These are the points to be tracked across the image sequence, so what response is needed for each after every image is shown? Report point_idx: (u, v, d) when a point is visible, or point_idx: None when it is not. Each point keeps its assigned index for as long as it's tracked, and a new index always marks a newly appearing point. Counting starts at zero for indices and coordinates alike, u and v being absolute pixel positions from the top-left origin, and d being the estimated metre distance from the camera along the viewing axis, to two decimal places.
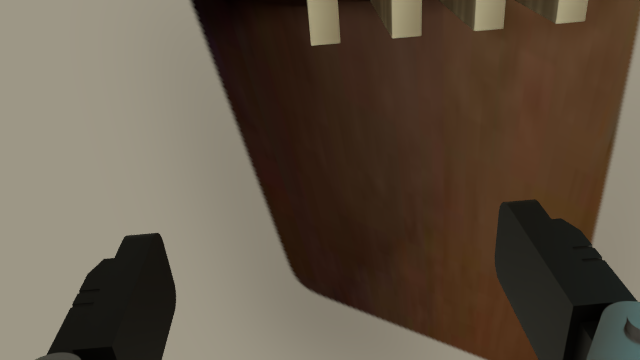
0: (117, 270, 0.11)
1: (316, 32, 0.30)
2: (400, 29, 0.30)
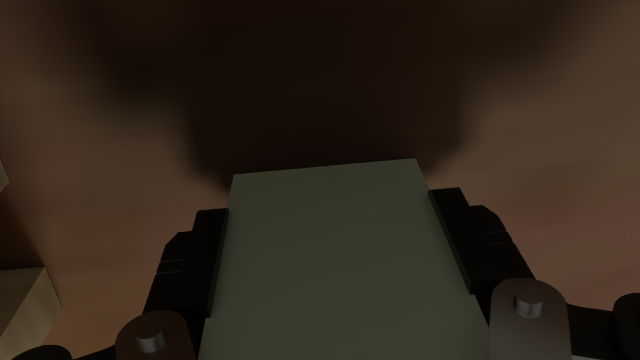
0: (197, 240, 0.12)
1: None
2: None
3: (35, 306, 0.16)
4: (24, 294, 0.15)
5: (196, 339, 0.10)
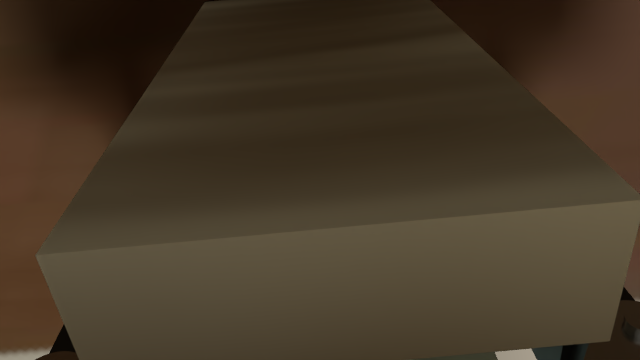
0: None
1: None
2: None
3: None
4: None
5: None
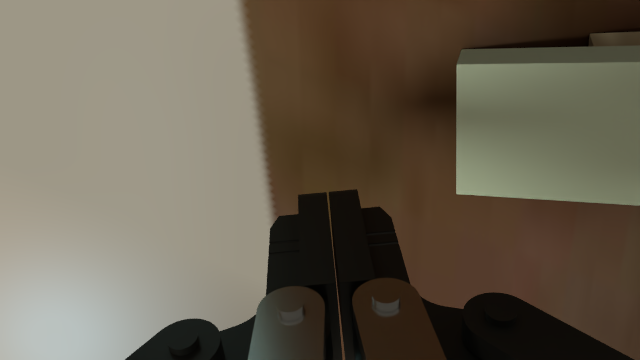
0: (307, 222, 0.12)
1: None
2: None
3: None
4: None
5: (328, 315, 0.10)
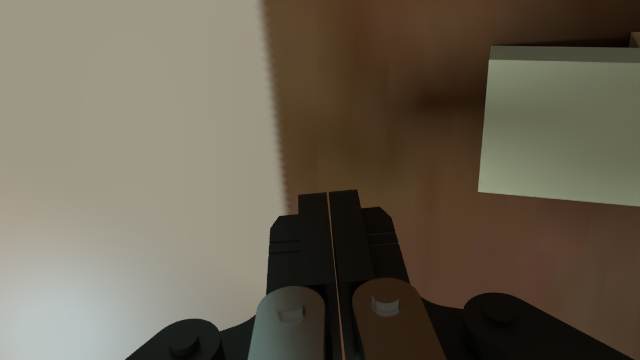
0: (307, 222, 0.12)
1: None
2: None
3: None
4: None
5: (328, 315, 0.10)
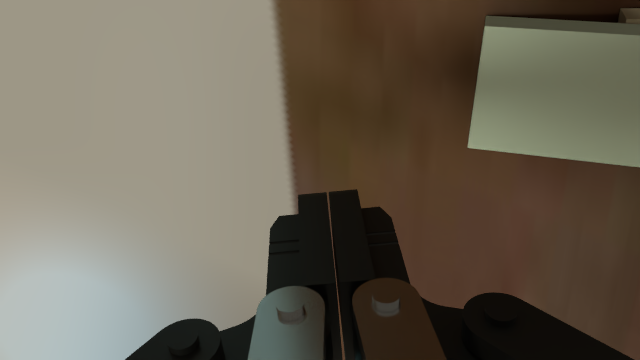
0: (307, 222, 0.12)
1: None
2: None
3: None
4: None
5: (328, 315, 0.10)
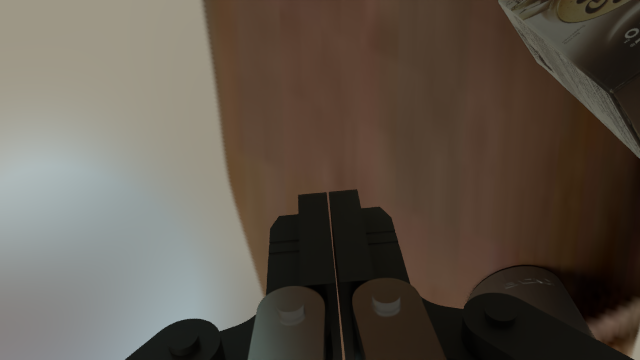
0: (307, 222, 0.12)
1: None
2: None
3: None
4: None
5: (328, 315, 0.10)
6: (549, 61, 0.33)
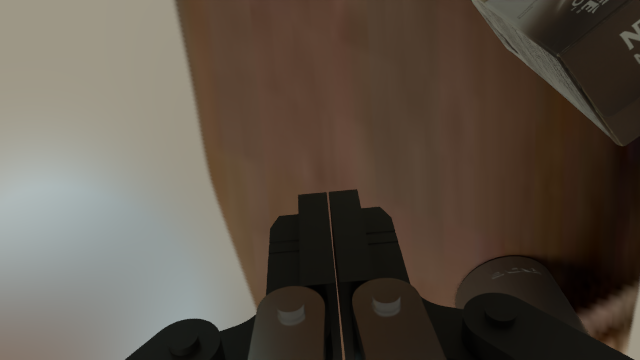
0: (307, 222, 0.12)
1: None
2: None
3: None
4: None
5: (328, 316, 0.10)
6: (512, 42, 0.34)
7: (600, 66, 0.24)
